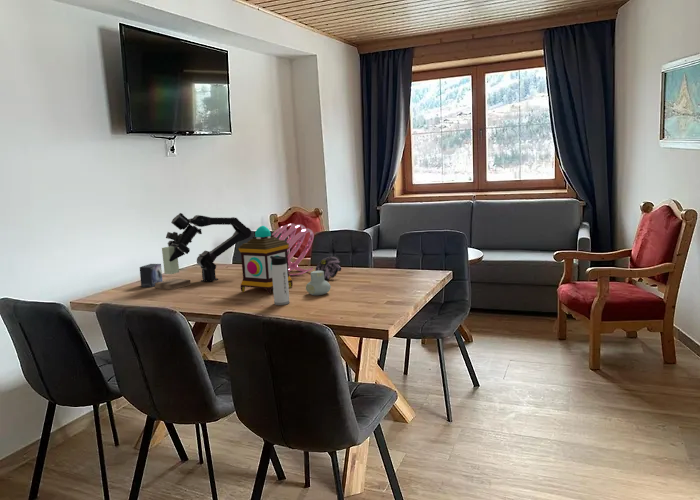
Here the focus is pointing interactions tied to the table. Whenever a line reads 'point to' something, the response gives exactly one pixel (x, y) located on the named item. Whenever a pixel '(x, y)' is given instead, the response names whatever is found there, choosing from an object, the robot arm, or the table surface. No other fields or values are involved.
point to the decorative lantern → (261, 259)
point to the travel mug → (280, 280)
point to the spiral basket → (291, 241)
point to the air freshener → (317, 284)
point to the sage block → (169, 266)
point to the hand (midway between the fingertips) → (167, 260)
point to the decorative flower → (329, 267)
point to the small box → (150, 275)
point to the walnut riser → (172, 284)
